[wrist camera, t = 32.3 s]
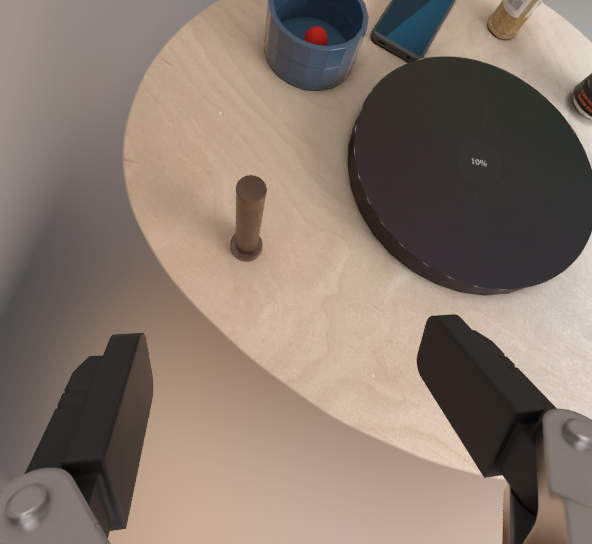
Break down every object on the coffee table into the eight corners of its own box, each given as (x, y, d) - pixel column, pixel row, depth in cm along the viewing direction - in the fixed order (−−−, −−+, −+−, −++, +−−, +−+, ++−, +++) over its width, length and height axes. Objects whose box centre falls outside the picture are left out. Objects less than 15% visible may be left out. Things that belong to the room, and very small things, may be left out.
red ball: (306, 31, 46) (298, 31, 44) (327, 23, 45) (320, 22, 43) (312, 56, 48) (304, 57, 45) (332, 48, 46) (326, 49, 44)
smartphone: (367, 38, 49) (370, 32, 48) (410, -28, 54) (413, -34, 53) (417, 67, 49) (421, 61, 48) (456, -1, 54) (460, -8, 53)
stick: (239, 266, 38) (242, 215, 26) (225, 240, 39) (221, 179, 27) (267, 253, 39) (281, 197, 27) (252, 227, 40) (260, 162, 28)
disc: (540, 80, 52) (558, 62, 50) (606, 289, 44) (631, 282, 42) (333, 68, 47) (339, 47, 44) (364, 302, 39) (375, 296, 36)
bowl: (293, 103, 45) (301, 62, 39) (248, 32, 47) (250, -17, 41) (368, 75, 48) (386, 33, 42) (323, 9, 50) (335, -39, 44)
